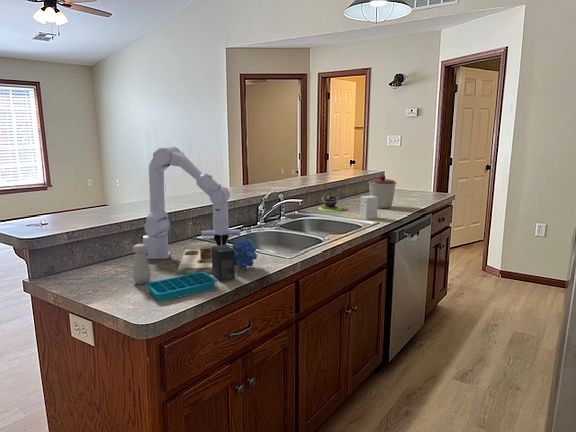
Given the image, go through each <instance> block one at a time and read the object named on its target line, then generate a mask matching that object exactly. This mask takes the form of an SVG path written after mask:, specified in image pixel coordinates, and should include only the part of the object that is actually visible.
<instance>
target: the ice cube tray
mask: <svg viewBox="0 0 576 432" xmlns="http://www.w3.org/2000/svg"><path fill="white" fill-rule="evenodd" d="M217 283H218V279H217V278H216V277H214V276H213V275H211V274H210V273H206V272H197V273H188V274H183V275H182V274H181V275H178V276H174V277H170V278H164V279H159V280H154V281H149V282H148V283H146V284H145V286H146V287H147V288H148V289H149V293H150V294H151V295H152V296H153V297H154V298H155V299H156V300H157V301H158V302H164V301H163V300H165V301H168V300H167V299H169V300H172V299H171V298H174V299H177V298H176V297H178V298H180V297H179V296H182V297H185V296H184V295H187V296H189V295H188V294H191V295H194V294H193V293H195V294H198V293H197V292H199V293H202V292H201V291H204V292H206V291H205V290H208V291H211V290H210V289H212V290H214V289H215V287H216V286H215V284H217ZM213 288H214V289H213Z"/></svg>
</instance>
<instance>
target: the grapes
mask: <svg viewBox="0 0 576 432" xmlns="http://www.w3.org/2000/svg"><path fill="white" fill-rule="evenodd" d="M231 248H232V249H234V252H235V267H240V268H241V269H242V270H245V269H247V268H248V267H253V265H254V261H255V260H257V257H258V254H257V253H256V251H257V246H256V244H254V243H253V242H252V240H251V239H250V238H243V237H239V238H238V239H237V242H233V243H232V246H231Z"/></svg>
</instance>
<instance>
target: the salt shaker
mask: <svg viewBox="0 0 576 432" xmlns="http://www.w3.org/2000/svg"><path fill="white" fill-rule="evenodd" d="M146 251H147V247H146V245H145V244H143V243H137V244H135V245H133V247H132V252H133V253H135V254H134V261H133V271H132V276H131V277H132V279H133V280H134V282H135V284H136V285H146V283H148V282H150V278H151V276H152V275H151V270H150V267H149V261H148V259H147V257H146V253H145V252H146Z"/></svg>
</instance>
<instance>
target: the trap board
mask: <svg viewBox="0 0 576 432" xmlns="http://www.w3.org/2000/svg"><path fill="white" fill-rule="evenodd" d="M177 272H178V275H179V274H180V275H182V274H183V275H187V274H192V273H197V272H206V273H207V274H210V273H211V274H212V257H211V259H201V257H200V249H185V250H184V252H183V254H182V257H181V260H180V262H179V265H178V268H177Z"/></svg>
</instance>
